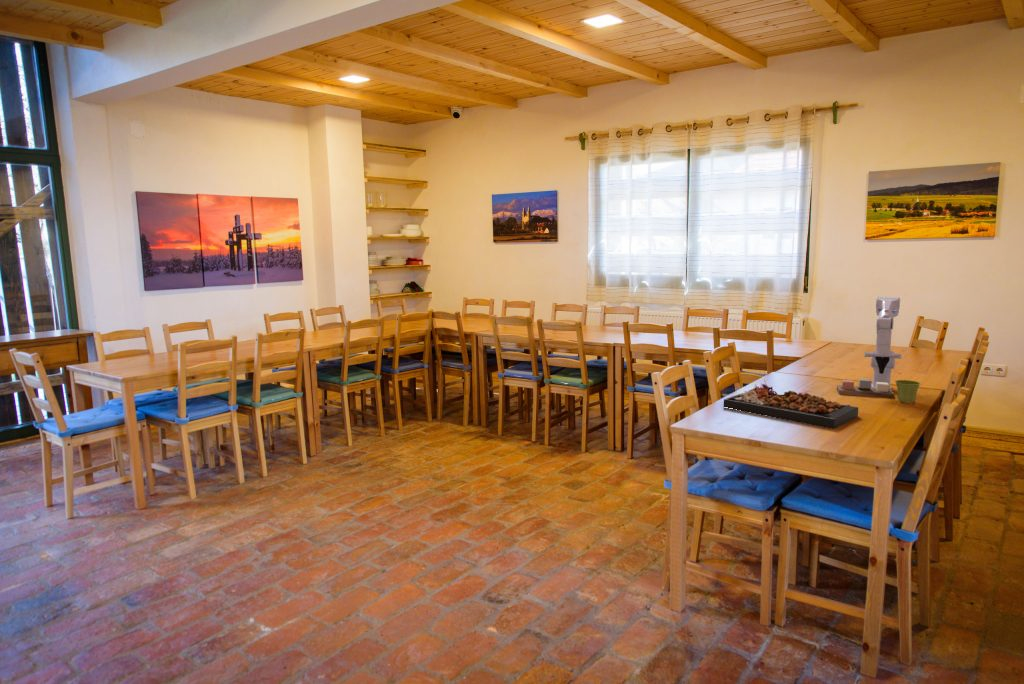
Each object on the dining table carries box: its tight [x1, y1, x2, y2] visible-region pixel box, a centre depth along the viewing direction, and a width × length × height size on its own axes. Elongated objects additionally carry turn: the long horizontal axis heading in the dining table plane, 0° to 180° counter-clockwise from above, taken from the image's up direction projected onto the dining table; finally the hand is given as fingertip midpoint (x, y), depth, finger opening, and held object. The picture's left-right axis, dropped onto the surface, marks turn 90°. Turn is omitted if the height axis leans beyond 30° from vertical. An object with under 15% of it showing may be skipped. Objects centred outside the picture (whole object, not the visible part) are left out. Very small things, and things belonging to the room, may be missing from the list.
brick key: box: [841, 379, 855, 390], centre depth 296 cm, size 5×5×4 cm
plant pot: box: [895, 379, 921, 404], centre depth 277 cm, size 9×9×9 cm
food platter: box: [723, 379, 859, 430], centre depth 263 cm, size 45×25×10 cm, turn 43°
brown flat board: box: [836, 384, 895, 399], centre depth 294 cm, size 11×22×2 cm, turn 68°
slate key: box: [858, 378, 873, 389], centre depth 293 cm, size 5×5×4 cm
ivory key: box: [875, 382, 889, 392], centre depth 291 cm, size 5×5×4 cm
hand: (881, 373), depth 290 cm, fingers closed
